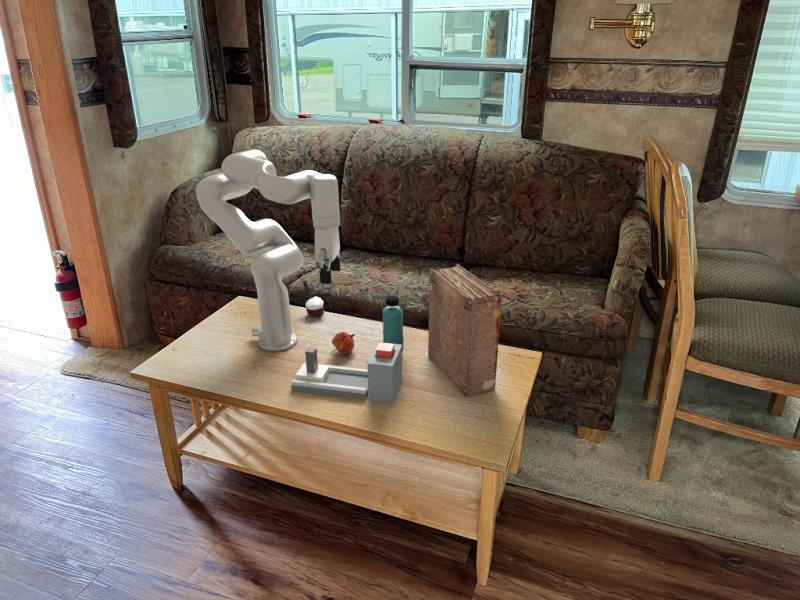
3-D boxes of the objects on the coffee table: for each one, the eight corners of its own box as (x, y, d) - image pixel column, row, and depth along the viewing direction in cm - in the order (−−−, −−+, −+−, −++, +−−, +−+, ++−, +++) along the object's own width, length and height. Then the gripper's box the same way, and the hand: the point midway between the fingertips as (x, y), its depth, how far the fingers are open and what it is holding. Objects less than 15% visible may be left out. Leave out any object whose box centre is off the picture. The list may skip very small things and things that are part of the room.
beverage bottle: (401, 361, 193) (401, 302, 184) (380, 358, 194) (379, 301, 186) (405, 350, 199) (405, 293, 190) (385, 348, 200) (384, 292, 191)
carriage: (296, 380, 180) (293, 353, 176) (303, 369, 185) (301, 342, 182) (322, 383, 178) (320, 356, 174) (329, 372, 184) (327, 345, 180)
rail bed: (291, 390, 178) (290, 382, 177) (306, 369, 189) (305, 361, 188) (365, 399, 174) (364, 391, 173) (376, 377, 184) (375, 369, 183)
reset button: (376, 362, 172) (375, 349, 171) (379, 354, 176) (379, 342, 174) (390, 363, 172) (390, 351, 170) (394, 356, 175) (394, 343, 174)
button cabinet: (368, 400, 174) (367, 363, 168) (379, 377, 184) (378, 342, 179) (393, 403, 172) (392, 365, 167) (402, 380, 183) (402, 344, 178)
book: (427, 356, 196) (429, 267, 183) (453, 350, 199) (456, 263, 186) (467, 397, 174) (471, 301, 162) (495, 390, 178) (502, 295, 165)
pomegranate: (335, 365, 195) (360, 348, 192) (320, 348, 193) (345, 330, 191) (339, 356, 202) (363, 339, 199) (325, 339, 200) (349, 322, 198)
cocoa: (327, 319, 220) (327, 288, 215) (310, 322, 218) (309, 291, 212) (318, 307, 228) (317, 277, 223) (301, 310, 225) (301, 280, 220)
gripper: (322, 210, 181) (326, 265, 188) (304, 229, 165) (309, 288, 173) (347, 211, 180) (350, 266, 187) (331, 230, 164) (335, 289, 171)
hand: (330, 276), depth 180 cm, fingers open, 9 cm apart
